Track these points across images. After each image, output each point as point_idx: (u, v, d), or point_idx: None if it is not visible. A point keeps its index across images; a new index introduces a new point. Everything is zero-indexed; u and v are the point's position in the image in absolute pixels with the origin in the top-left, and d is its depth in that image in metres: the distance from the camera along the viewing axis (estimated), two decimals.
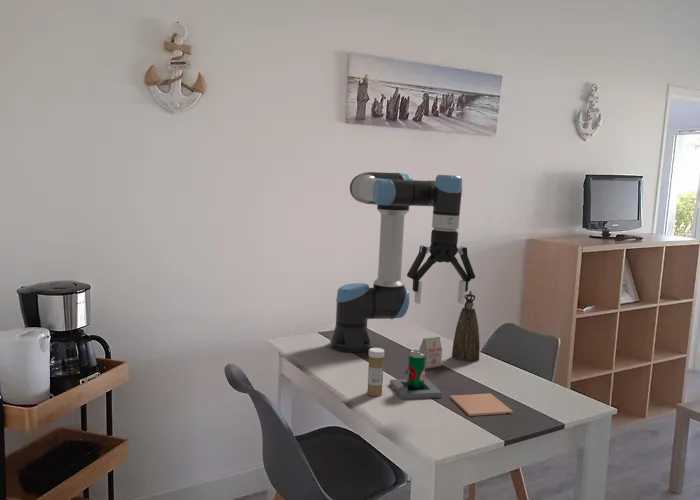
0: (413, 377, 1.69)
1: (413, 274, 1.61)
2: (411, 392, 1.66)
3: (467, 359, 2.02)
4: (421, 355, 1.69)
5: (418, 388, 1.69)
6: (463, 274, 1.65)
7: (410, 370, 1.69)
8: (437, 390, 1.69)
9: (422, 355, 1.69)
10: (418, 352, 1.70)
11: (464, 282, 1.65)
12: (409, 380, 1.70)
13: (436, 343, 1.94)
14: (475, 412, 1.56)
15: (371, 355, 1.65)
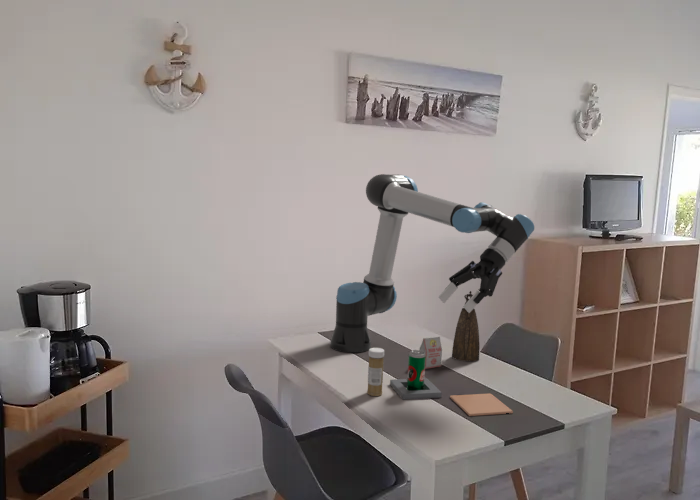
0: (413, 377, 1.69)
1: None
2: (411, 392, 1.66)
3: (467, 359, 2.02)
4: (421, 355, 1.69)
5: (418, 388, 1.69)
6: None
7: (410, 370, 1.69)
8: (437, 390, 1.69)
9: (422, 355, 1.69)
10: (418, 352, 1.70)
11: None
12: (409, 380, 1.70)
13: (436, 343, 1.94)
14: (475, 412, 1.56)
15: (371, 355, 1.65)
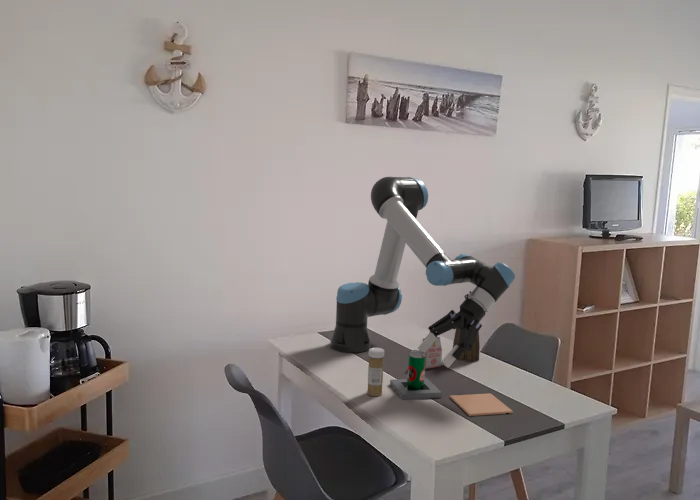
0: (413, 377, 1.69)
1: None
2: (411, 392, 1.66)
3: (467, 359, 2.02)
4: (421, 355, 1.69)
5: (418, 388, 1.69)
6: None
7: (410, 370, 1.69)
8: (437, 390, 1.69)
9: (422, 355, 1.69)
10: (418, 352, 1.70)
11: None
12: (409, 380, 1.70)
13: (436, 343, 1.94)
14: (475, 412, 1.56)
15: (371, 355, 1.65)
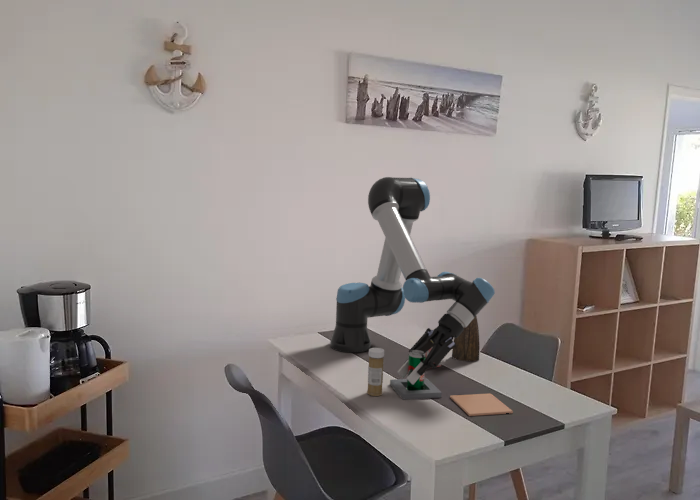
0: None
1: None
2: (411, 392, 1.66)
3: (467, 359, 2.02)
4: (421, 355, 1.69)
5: (418, 388, 1.69)
6: None
7: (410, 370, 1.69)
8: (437, 390, 1.69)
9: (422, 355, 1.69)
10: (418, 352, 1.70)
11: None
12: None
13: None
14: (475, 412, 1.56)
15: (371, 355, 1.65)
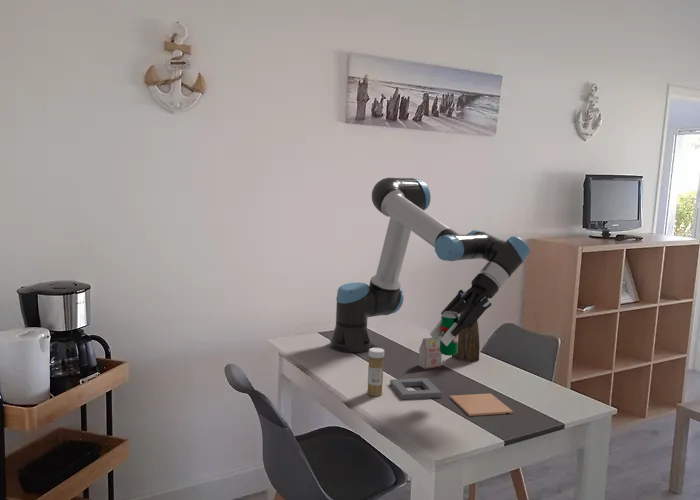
0: None
1: None
2: (411, 392, 1.66)
3: (467, 359, 2.02)
4: (455, 315, 1.62)
5: (452, 350, 1.62)
6: None
7: (444, 331, 1.62)
8: (437, 390, 1.69)
9: (456, 315, 1.62)
10: (451, 313, 1.63)
11: None
12: (442, 342, 1.63)
13: (436, 343, 1.94)
14: (475, 412, 1.56)
15: (371, 355, 1.65)
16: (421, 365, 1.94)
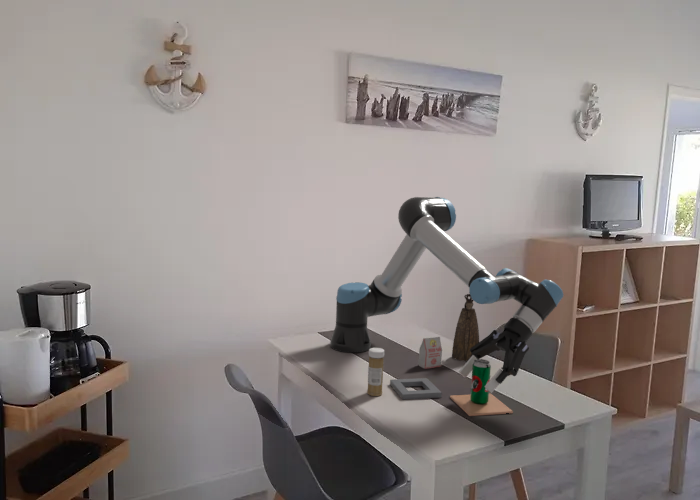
0: (478, 388, 1.61)
1: None
2: (411, 392, 1.66)
3: (467, 359, 2.02)
4: (486, 364, 1.61)
5: (483, 399, 1.61)
6: None
7: (475, 380, 1.61)
8: (437, 390, 1.69)
9: (487, 364, 1.61)
10: (483, 361, 1.62)
11: None
12: (473, 391, 1.62)
13: (436, 343, 1.94)
14: (475, 412, 1.56)
15: (371, 355, 1.65)
16: (421, 365, 1.94)
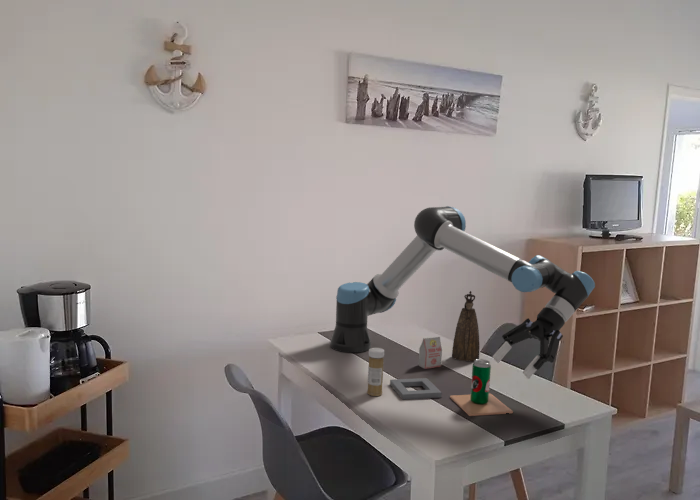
0: (478, 388, 1.61)
1: None
2: (411, 392, 1.66)
3: (467, 359, 2.02)
4: (487, 365, 1.60)
5: (483, 399, 1.61)
6: None
7: (475, 380, 1.61)
8: (437, 390, 1.69)
9: (488, 365, 1.61)
10: (483, 361, 1.62)
11: None
12: (474, 391, 1.62)
13: (436, 343, 1.94)
14: (475, 412, 1.56)
15: (371, 355, 1.65)
16: (421, 365, 1.94)
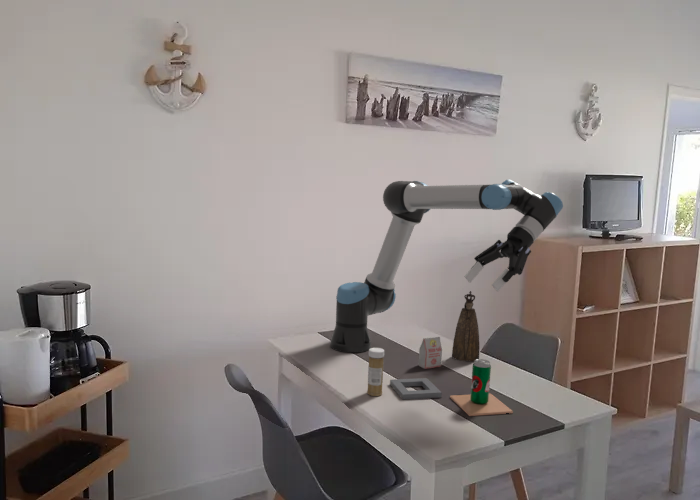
0: (478, 388, 1.61)
1: None
2: (411, 392, 1.66)
3: (467, 359, 2.02)
4: (487, 365, 1.60)
5: (483, 399, 1.61)
6: None
7: (475, 380, 1.61)
8: (437, 390, 1.69)
9: (488, 365, 1.61)
10: (483, 361, 1.62)
11: None
12: (474, 391, 1.62)
13: (436, 343, 1.94)
14: (475, 412, 1.56)
15: (371, 355, 1.65)
16: (421, 365, 1.94)
